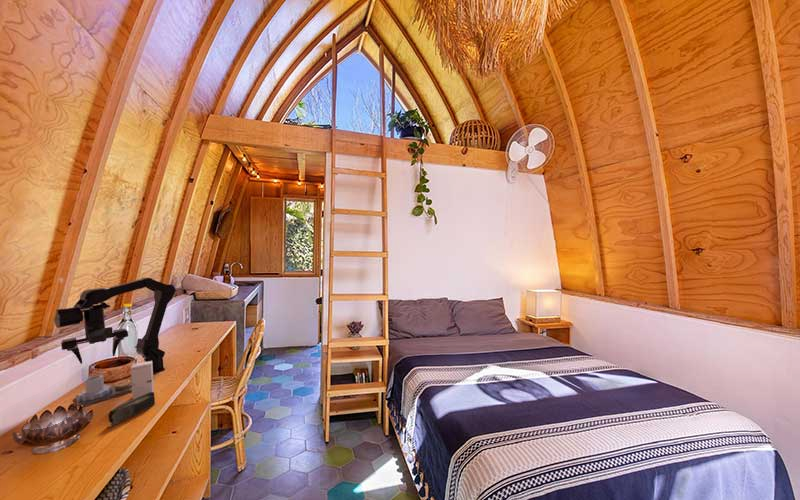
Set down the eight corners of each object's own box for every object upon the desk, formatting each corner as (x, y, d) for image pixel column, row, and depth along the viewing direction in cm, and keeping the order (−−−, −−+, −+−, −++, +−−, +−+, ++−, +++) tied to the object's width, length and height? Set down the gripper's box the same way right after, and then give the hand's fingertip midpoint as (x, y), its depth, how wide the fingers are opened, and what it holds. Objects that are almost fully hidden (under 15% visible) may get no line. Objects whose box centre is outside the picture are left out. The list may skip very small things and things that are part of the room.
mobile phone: (149, 390, 111) (101, 412, 97) (156, 390, 111) (109, 413, 96) (150, 404, 111) (102, 428, 97) (157, 404, 111) (110, 429, 96)
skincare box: (132, 400, 114) (129, 367, 113) (134, 395, 118) (131, 364, 117) (153, 395, 117) (150, 363, 117) (154, 390, 121) (152, 359, 121)
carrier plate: (137, 380, 131) (136, 369, 131) (142, 388, 124) (142, 377, 123) (75, 398, 118) (74, 386, 118) (77, 408, 110) (76, 395, 110)
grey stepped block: (110, 386, 124) (109, 370, 124) (113, 393, 118) (112, 376, 118) (77, 396, 117) (75, 379, 117) (79, 403, 111) (77, 385, 111)
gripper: (60, 330, 111) (64, 373, 112) (129, 318, 125) (132, 356, 126) (59, 325, 118) (63, 365, 119) (124, 314, 132) (127, 351, 133)
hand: (97, 359), depth 124 cm, fingers open, 9 cm apart
